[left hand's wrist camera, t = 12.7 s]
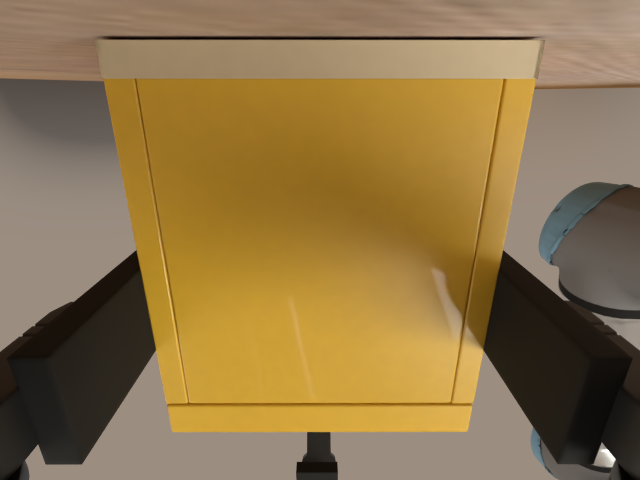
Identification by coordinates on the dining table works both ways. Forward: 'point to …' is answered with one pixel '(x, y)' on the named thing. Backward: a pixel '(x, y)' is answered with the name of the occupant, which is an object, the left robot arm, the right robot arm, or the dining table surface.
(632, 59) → the dining table surface
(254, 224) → the chest
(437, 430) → the lid
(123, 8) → the dining table surface
